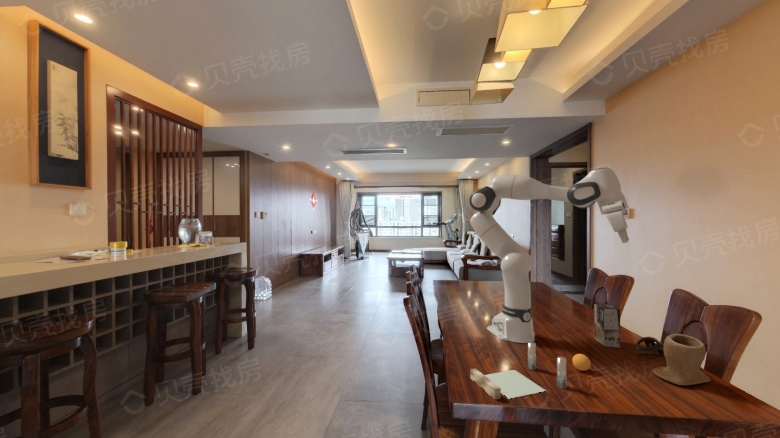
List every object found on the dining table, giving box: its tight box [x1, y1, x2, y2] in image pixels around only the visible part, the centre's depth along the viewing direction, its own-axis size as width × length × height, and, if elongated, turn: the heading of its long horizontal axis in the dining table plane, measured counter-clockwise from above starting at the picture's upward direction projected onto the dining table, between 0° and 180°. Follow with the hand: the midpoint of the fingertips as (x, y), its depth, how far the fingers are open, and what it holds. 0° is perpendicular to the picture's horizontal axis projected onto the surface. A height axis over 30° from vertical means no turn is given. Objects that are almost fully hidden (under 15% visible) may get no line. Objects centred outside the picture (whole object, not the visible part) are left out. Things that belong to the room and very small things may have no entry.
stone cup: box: [652, 333, 712, 386], centre depth 100 cm, size 15×12×15 cm
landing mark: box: [483, 369, 547, 400], centre depth 98 cm, size 14×14×1 cm
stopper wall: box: [469, 368, 502, 400], centre depth 96 cm, size 13×2×3 cm, turn 18°
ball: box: [572, 353, 591, 372], centre depth 108 cm, size 6×6×6 cm
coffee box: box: [594, 303, 621, 349], centre depth 132 cm, size 9×6×16 cm
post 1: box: [527, 341, 537, 371], centre depth 109 cm, size 3×3×9 cm
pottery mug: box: [636, 336, 664, 356], centre depth 120 cm, size 12×10×8 cm
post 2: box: [556, 356, 567, 390], centre depth 97 cm, size 3×3×9 cm
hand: (625, 242), depth 115 cm, fingers open, 8 cm apart
